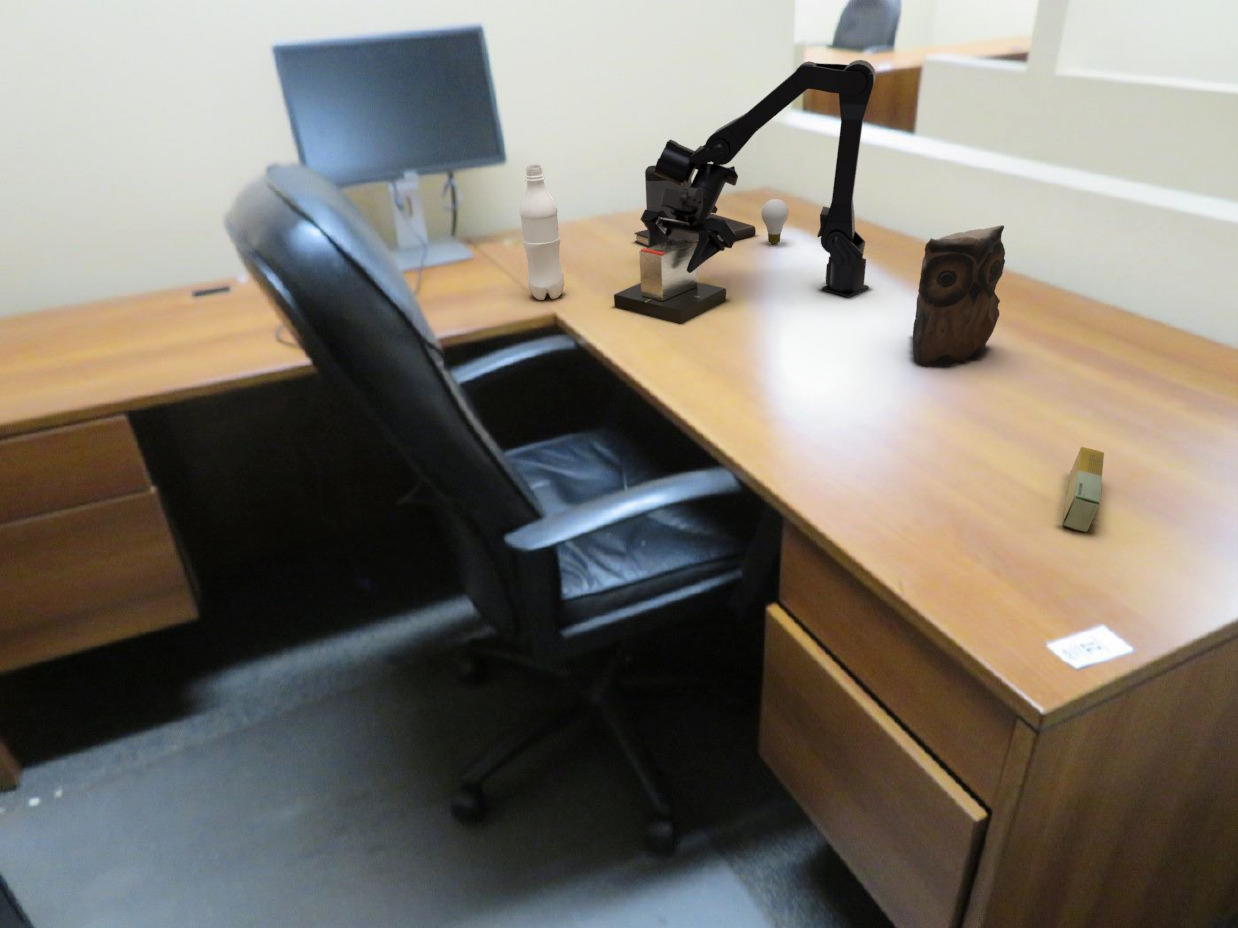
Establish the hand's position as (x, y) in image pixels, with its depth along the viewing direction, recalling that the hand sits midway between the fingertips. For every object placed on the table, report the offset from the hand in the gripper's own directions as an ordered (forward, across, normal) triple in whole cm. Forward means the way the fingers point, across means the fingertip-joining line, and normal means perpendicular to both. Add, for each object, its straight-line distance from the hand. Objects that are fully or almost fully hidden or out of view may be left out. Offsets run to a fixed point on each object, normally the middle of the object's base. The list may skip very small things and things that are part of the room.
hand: (668, 267), depth 159 cm
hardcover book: (-21, -22, +31) cm, 43 cm away
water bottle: (+12, -24, -1) cm, 27 cm away
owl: (0, +50, +10) cm, 51 cm away
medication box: (+24, +81, -14) cm, 85 cm away
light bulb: (-25, -4, +35) cm, 43 cm away
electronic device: (-9, -15, +19) cm, 26 cm away
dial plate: (+5, 0, +5) cm, 7 cm away
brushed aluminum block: (+3, 0, +3) cm, 5 cm away
